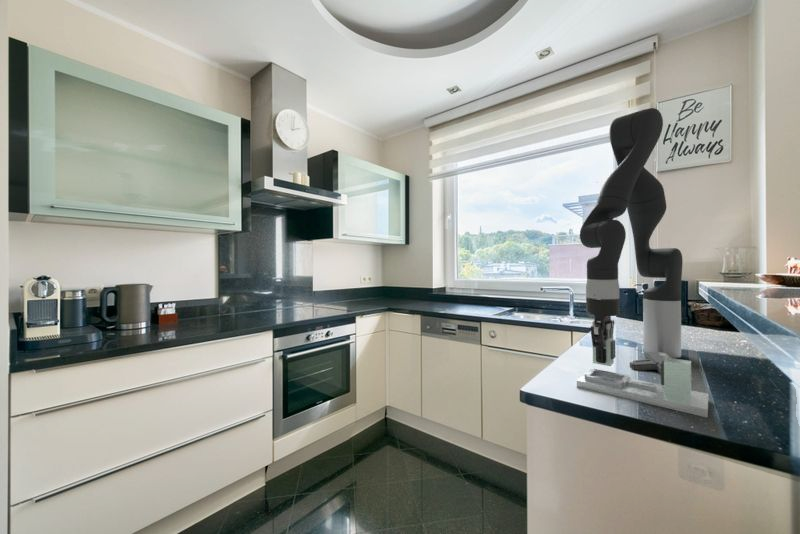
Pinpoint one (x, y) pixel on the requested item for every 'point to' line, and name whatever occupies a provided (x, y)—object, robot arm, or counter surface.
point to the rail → (652, 387)
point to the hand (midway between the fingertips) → (603, 360)
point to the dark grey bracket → (650, 362)
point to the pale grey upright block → (607, 352)
